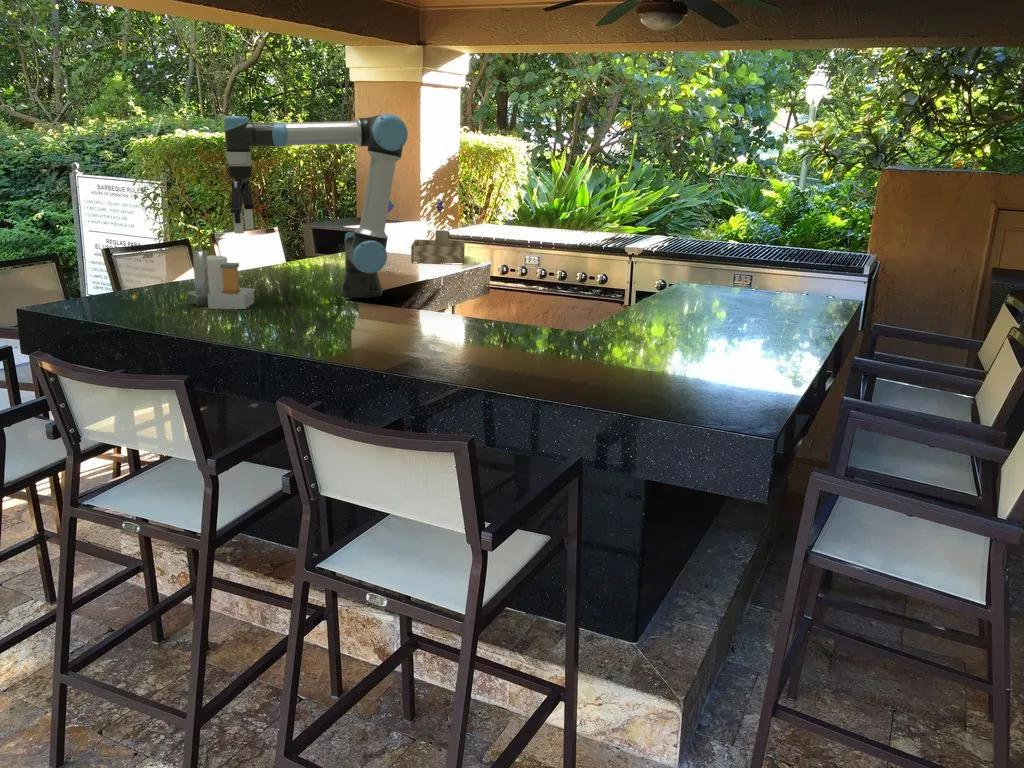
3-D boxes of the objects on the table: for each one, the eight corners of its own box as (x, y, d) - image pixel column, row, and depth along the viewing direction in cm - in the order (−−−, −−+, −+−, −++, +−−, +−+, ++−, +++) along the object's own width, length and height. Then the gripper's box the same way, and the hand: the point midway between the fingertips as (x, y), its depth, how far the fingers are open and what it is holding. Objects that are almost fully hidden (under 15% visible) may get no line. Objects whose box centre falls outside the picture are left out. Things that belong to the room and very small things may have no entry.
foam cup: (223, 296, 305) (221, 259, 302) (197, 295, 305) (195, 258, 302) (232, 291, 314) (230, 256, 311) (207, 290, 314) (204, 255, 311)
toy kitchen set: (471, 260, 418) (472, 229, 414) (457, 264, 403) (457, 232, 399) (437, 257, 425) (437, 226, 420) (421, 261, 410) (421, 229, 405)
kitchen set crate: (464, 257, 426) (464, 241, 424) (463, 264, 401) (463, 247, 399) (415, 255, 425) (415, 239, 423) (411, 263, 400) (411, 246, 398)
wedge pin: (241, 304, 292) (238, 263, 288) (237, 307, 287) (234, 265, 283) (226, 304, 291) (224, 262, 287) (222, 306, 287) (220, 264, 283)
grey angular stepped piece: (262, 296, 307) (260, 246, 302) (245, 309, 284) (242, 255, 279) (204, 295, 306) (201, 244, 301) (182, 307, 283) (178, 253, 278)
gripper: (237, 163, 291) (242, 226, 297) (217, 166, 267) (222, 235, 273) (260, 164, 292) (264, 226, 298) (241, 167, 268) (246, 235, 274)
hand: (244, 231), depth 286 cm, fingers open, 13 cm apart
